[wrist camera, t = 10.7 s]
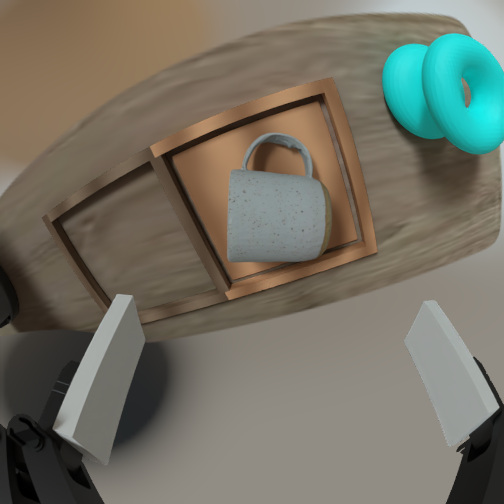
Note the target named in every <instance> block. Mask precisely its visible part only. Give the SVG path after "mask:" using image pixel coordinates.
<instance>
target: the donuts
mask: <svg viewBox="0 0 504 504" xmlns="http://www.w3.org/2000/svg"><path fill="white" fill-rule="evenodd" d="M462 77H463V78H464V79H465V81H466V82H467V84H468V85H469V88H470V91H471V102H470V105H469V107H468V108H466V106H465V94H464V88H463V85H462V82H461V78H462ZM382 86H383V92H384V96H385V99H386V102H387V105H388V107H389V109H390V111H391V112H392V114H393V116H394V117H395V118H396V120H397V121H398V122H399V123H400V124H401V125H402V126H403V127H404V128H405V129H407V130H408V131H409V132H411V133H413V134H414V135H417V136H419V137H422V138H426V139H438V138H442V137H446V138H447V139H448V140H449V141H450V142H451V143H452V144H453V145H455V146H456V147H457V148H459V149H461V150H463V151H465V152H468V153H471V154H486V153H489V152H491V151H493V150H495V149H496V148H497V147H498V146H499V145H500V144H501V143H502V142H503V141H504V72H503V70H502V68H501V67H500V65H499V63H498V61H497V60H496V59H495V57H494V56H493V55H492V54H491V53H490V51H489V50H488V49H487V48H486V47H485V46H483V45H482V44H481V43H479V42H478V41H476V40H474V39H473V38H471V37H469V36H466V35H462V34H446V35H443V36H441V37H439V38H437V39H436V40H435V41H434V42H433V43H432V44H431V45H430V46H429V47H428V46H425V45H421V44H408V45H404V46H401V47H399V48H398V49H396V50H395V51H394V52H393V53H392V54H391V55H390V56H389V57H388V59H387V61H386V63H385V65H384V69H383V75H382Z"/></svg>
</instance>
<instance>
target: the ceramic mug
mask: <svg viewBox="0 0 504 504" xmlns="http://www.w3.org/2000/svg"><path fill="white" fill-rule="evenodd" d="M266 142H270V143H276V144H282V145H285V146H287V147H288V148H295V149H297V150H298V152H299V153H300V155H301V156H302V158H303V162H304V166H305V176H300V175H288V174H279V173H272V172H262V171H251V170H248V169H247V164H248V161H249V158H250V156H251V154H252V152H253V151H254V149H255V148H256V147H257V146H258V145H260V144H261V143H266ZM312 174H313V165H312V159H311V156H310V153H309V151H308V149H307V148H306V147H305V145H304V144H303V143H302V142H300V141H299V140H298V139H297V138H295V137H293V136H291V135H288V134H283V133H277V132H276V133H267V134H264V135H262V136H260V137H258V138H257V139H256V140H255V141H254V142H253V143H252V144H251V145H250V146H249V148H248V150H247V152H246V154H245V156H244V160H243V164H242V168H241V169H234V170H232V171H231V172H230V178H229V196H228V220H227V223H228V225H227V229H228V232H227V236H228V237H227V258H228V261H230V262H233V263H237V262H299V261H307V260H312V259H316V258H318V257H320V256H321V255H322V254H323V253H324V251H325V249H326V248H327V246H328V243H329V239H330V235H331V227H332V205H331V198H330V195H329V191H328V190H327V188H326V186H325V185H324V184H323V183H322V182H321V181H319V180H316V179H314V178H313V177H312Z"/></svg>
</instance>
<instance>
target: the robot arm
mask: <svg viewBox="0 0 504 504" xmlns="http://www.w3.org/2000/svg"><path fill="white" fill-rule="evenodd" d="M18 311H19V304H18V300H17V296H16V294H15V291H14V289H13V287H12V285H11V283H10V281H9V279H8V277H7V276H6V274H5V273H4V271H3V270H2V268H1V267H0V328H2V327H4V326H5V325H7V324H9V323H10V322H11V321H12V320H13V319H14V318H15V316H16V315H17V314H18ZM144 343H145V337H144V334H143V331H142V327H141V324H140V320H139V317H138V313H137V309H136V306H135V302H134V298H133V296H132V295H121V294H117V295H116V297H115V299H114V301H113V302H112V304H111V306H110V308H109V309H108V311H107V313H106V315H105V317H104V318H103V320H102V322H101V324H100V326H99V328H98V330H97V331H96V333H95V335H94V337H93V339H92V341H91V343H90V345H89V347H88V349H87V351H86V353H85V355H84V357H83V359H82V361H81V363H78V362H74V361H70V362H69V363H68V364H67V365H66V366H65V367H64V368H63V369H62V371H61V373H60V375H59V377H58V379H57V383H55V385H54V388H53V391H52V392H51V394H50V396H49V399H48V401H47V403H46V405H45V408H44V410H43V412H42V415H41V417H40V420H39V421H38V423H36V422H35V421H34V420H33V419H32V418H31V417H30V416H28V415H26V414H17V415H16V416H14V417H13V418H12V419H11V420H10V421H9V424H8V427H7V429H5V428H4V427H3V426H2V425H1V424H0V504H104V502H103V500H102V498H101V497H100V495H99V493H98V491H97V489H96V488H95V486H94V484H93V482H92V480H91V478H90V476H89V474H88V472H87V470H86V468H85V466H84V464H83V462H82V461H81V460H82V456H83V455H84V456H85V457H87V458H88V459H89V460H91V461H94V462H97V463H100V464H103V465H106V466H107V465H108V461H109V457H110V453H111V448H112V445H113V441H114V438H115V434H116V430H117V427H118V423H119V419H120V416H121V413H122V409H123V406H124V403H125V399H126V396H127V393H128V390H129V387H130V384H131V381H132V378H133V375H134V371H135V368H136V366H137V362H138V360H139V357H140V354H141V351H142V348H143V346H144ZM404 343H405V345H406V347H407V349H408V351H409V353H410V355H411V357H412V359H413V362H414V364H415V366H416V368H417V370H418V372H419V374H420V377H421V379H422V381H423V383H424V385H425V388H426V390H427V392H428V395H429V397H430V400H431V402H432V404H433V407H434V409H435V412H436V414H437V417H438V419H439V422H440V424H441V427H442V430H443V432H444V435H445V438H446V441H447V444H448V447H450V446H452V445H454V444H456V443H459V442H461V441H462V440H463V439H464V438H466V437H467V436H468V435H469V436H470V438H469V439H468V440H467V441H466V442H464V443H463V444H462V445H460V446H459V447H458V449H457V451H456V452H459V451H460V450H461V449H463V448H464V447H465V449H463V450H462V451H461V452H460V453H462V454H463V457H462V460H461V464H460V467H459V470H458V473H457V476H456V479H455V482H454V485H453V487H452V490H451V492H450V495H449V497H448V500H447V502H446V504H504V404H503V403H502V401H501V399H500V397H499V395H498V393H497V391H496V389H495V387H494V385H493V383H492V382H491V381H490V378H489V376H488V374H486V371H485V369H484V367H483V365H482V364H481V363H480V362H479V361H478V360H477V359H476V358H475V357H472V355H471V354H470V352H469V351H468V349H467V347H466V345H465V344H464V342H463V341H462V339H461V338H460V336H459V335H458V333H457V331H456V330H455V328H454V327H453V325H452V324H451V322H450V321H449V320H448V318H447V317H446V315H445V314H444V312H443V311H442V309H441V308H440V307H439V305H438V304H437V302H436V301H435V300H433V301H424V302H423V304H422V306H421V308H420V311H419V313H418V315H417V317H416V319H415V321H414V323H413V325H412V327H411V328H410V330H409V332H408V334H407V336H406V338H405V340H404Z"/></svg>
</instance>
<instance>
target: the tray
mask: <svg viewBox="0 0 504 504" xmlns="http://www.w3.org/2000/svg"><path fill="white" fill-rule="evenodd" d="M317 94H322V97H323V99H324V102H325V105H326V108H327V110H328V113H329V116H330V119H331V122H332V125H333V128H334V131H335V135H336V138H337V141H338V144H339V147H340V151H341V154H342V158H343V161H344V165H345V168H346V172H347V176H348V179H349V183H350V187H351V191H352V195H353V199H354V204H355V208H356V212H357V217H358V221H359V226H360V231H361V236H362V241H361V242H359V243H356V244H353V245H350V246H347V247H344V248H341V249H338V250H335V251H332V252H329V253H326V254H323V255H321V256H320V257H318V258H316V259H312V260H307V261H302V262H299V263H296V264H293V265H290V266H287V267H284V268H281V269H278V270H275V271H271V272H268V273H265V274H262V275H259V276H256V277H252V278H249V279H246V280H243V281H240V282H237V283H233V284H230V283H229V281H228V279H227V277H226V275H225V273H224V271H223V270H222V268H221V266H220V264H219V262H218V260H217V258H216V256H215V254H214V252H213V250H212V248H211V247H210V245H209V243H208V241H207V239H206V237H205V235H204V233H203V231H202V229H201V227H200V225H199V223H198V221H197V219H196V217H195V215H194V213H193V211H192V209H191V207H190V205H189V203H188V201H187V199H186V197H185V195H184V193H183V191H182V189H181V187H180V185H179V182H178V180H177V178H176V176H175V174H174V172H173V170H172V168H171V166H170V164H169V162H168V159H167V157H166V155H165V153H166V152H168V151H170V150H172V149H174V148H176V147H178V146H180V145H182V144H184V143H186V142H189V141H191V140H193V139H195V138H197V137H200V136H202V135H204V134H206V133H209V132H211V131H213V130H216V129H218V128H221V127H223V126H225V125H228V124H230V123H233V122H235V121H238V120H241V119H243V118H246V117H249V116H251V115H254V114H257V113H260V112H262V111H265V110H268V109H271V108H274V107H277V106H280V105H283V104H286V103H290V102H293V101H296V100H300V99H303V98H306V97H310V96H313V95H317ZM276 132H277V133H283V134H288V135H291V136H293V137H295V138H297V139H298V140H299V141H300V142H302V143H303V144H304V145H305V147H306V148H307V149H308V151H309V153H310V156H311V159H312V165H313V174H312V177H313V178H314V179H316V180H319V181H321V182H322V183H323V184H324V185H325V186H326V188H327V190H328V191H329V195H330V198H331V205H332V227H331V235H330V239H329V243H328V246H327V248H326V249H325V250H327V249H330V248H333V247H336V246H339V245H342V244H345V243H348V242H350V241H353V240H356V239H357V235H356V230H355V225H354V221H353V217H352V212H351V208H350V204H349V200H348V196H347V192H346V188H345V184H344V180H343V177H342V173H341V170H340V166H339V163H338V159H337V156H336V153H335V149H334V146H333V143H332V140H331V136H330V133H329V130H328V127H327V124H326V121H325V118H324V116H323V113H322V110H321V107H320V104H319V102H318V101H317V102H313V103H310V104H306V105H303V106H300V107H296V108H293V109H290V110H287V111H284V112H281V113H278V114H275V115H272V116H269V117H266V118H263V119H260V120H257V121H255V122H252V123H249V124H246V125H244V126H241V127H239V128H236V129H233V130H231V131H228V132H226V133H224V134H221V135H219V136H216V137H214V138H212V139H209V140H207V141H205V142H202V143H200V144H198V145H195V146H193V147H191V148H189V149H187V150H185V151H182V152H180V153H178V154H176V155H174V156H172V159H173V161H174V163H175V165H176V167H177V169H178V171H179V173H180V175H181V178H182V180H183V182H184V184H185V186H186V188H187V190H188V192H189V194H190V196H191V198H192V200H193V202H194V204H195V206H196V208H197V210H198V213H199V215H200V217H201V219H202V221H203V223H204V225H205V227H206V229H207V231H208V233H209V235H210V237H211V239H212V241H213V243H214V245H215V247H216V248H217V250H218V252H219V254H220V256H221V258H222V260H223V262H224V264H225V266H226V268H227V270H228V272H229V274H230V276H231V278H232V280H235V279H238V278H241V277H244V276H247V275H250V274H253V273H257V272H260V271H263V270H266V269H269V268H272V267H275V266H278V265H281V264H285V263H288V262H237V263H233V262H230V261H228V258H227V237H228V236H227V232H228V229H227V225H228V223H227V220H228V196H229V178H230V172H231V171H232V170H234V169H241V168H242V164H243V160H244V156H245V154H246V152H247V150H248V148H249V146H250V145H251V144H252V143H253V142H254V141H255V140H256V139H257V138H258V137H260V136H262V135H264V134H267V133H276ZM148 161H150V162H151V164H152V166H153V168H154V170H155V172H156V175H157V177H158V179H159V181H160V183H161V185H162V187H163V189H164V191H165V193H166V195H167V197H168V199H169V201H170V203H171V205H172V206H173V208H174V210H175V212H176V214H177V216H178V218H179V220H180V222H181V224H182V226H183V228H184V230H185V231H186V233H187V235H188V237H189V239H190V241H191V243H192V245H193V246H194V248H195V250H196V252H197V254H198V256H199V257H200V259H201V261H202V263H203V265H204V267H205V268H206V270H207V272H208V274H209V276H210V277H211V279H212V281H213V283H214V284H215V286H216V288H217V289H214V290H210V291H207V292H204V293H201V294H197V295H194V296H191V297H187V298H184V299H180V300H177V301H174V302H170V303H167V304H163V305H160V306H156V307H153V308H149V309H146V310H142V311H139V312H137V313H138V317H139V320H140V324H143V323H147V322H151V321H155V320H158V319H162V318H166V317H170V316H174V315H177V314H181V313H185V312H189V311H192V310H196V309H199V308H203V307H207V306H210V305H214V304H217V303H221V302H224V301H228V300H231V299H234V298H238V297H241V296H245V295H248V294H251V293H255V292H258V291H261V290H265V289H268V288H271V287H274V286H278V285H281V284H284V283H287V282H290V281H293V280H296V279H300V278H303V277H306V276H309V275H312V274H315V273H318V272H321V271H324V270H327V269H330V268H333V267H336V266H339V265H342V264H345V263H348V262H351V261H354V260H356V259H359V258H362V257H365V256H368V255H371V254H373V253H376V252H377V245H376V239H375V233H374V227H373V222H372V216H371V211H370V206H369V201H368V197H367V192H366V188H365V183H364V179H363V175H362V171H361V167H360V163H359V159H358V155H357V151H356V148H355V144H354V141H353V137H352V134H351V131H350V127H349V124H348V121H347V118H346V115H345V112H344V109H343V106H342V103H341V100H340V97H339V94H338V91H337V89H336V86H335V83H334V81H333V78H332V77H331V78H327V79H323V80H319V81H315V82H311V83H307V84H304V85H300V86H297V87H293V88H290V89H287V90H283V91H280V92H277V93H274V94H271V95H268V96H265V97H262V98H259V99H256V100H254V101H251V102H248V103H245V104H243V105H240V106H237V107H235V108H232V109H230V110H227V111H225V112H222V113H220V114H217V115H215V116H213V117H210V118H208V119H206V120H203V121H201V122H199V123H197V124H194V125H192V126H190V127H188V128H186V129H184V130H182V131H180V132H177V133H175V134H173V135H171V136H169V137H167V138H165V139H163V140H162V141H160V142H158V143H156V144H154V145H152V146H150V147H148V148H146V149H145V150H143V151H141V152H139V153H137V154H136V155H134V156H132V157H130V158H129V159H127V160H125V161H123V162H122V163H120V164H118V165H117V166H115V167H113V168H112V169H110V170H109V171H107V172H105V173H104V174H102V175H101V176H99V177H98V178H96V179H95V180H93V181H91V182H90V183H88V184H87V185H85V186H84V187H83V188H81V189H80V190H78V191H77V192H75V193H74V194H73V195H71V196H70V197H68V198H67V199H66V200H64V201H63V202H62V203H60V204H59V205H57V206H56V207H55V208H54V209H52V210H51V211H50V212H48V213H47V214H46V215H45V216H43V217H42V219H43V221H44V223H45V225H46V226H47V228H48V230H49V232H50V233H51V235H52V237H53V239H54V240H55V242H56V244H57V245H58V247H59V249H60V250H61V252H62V253H63V255H64V257H65V258H66V260H67V261H68V263H69V264H70V266H71V268H72V269H73V271H74V272H75V274H76V275H77V276H78V278H79V279H80V281H81V282H82V284H83V285H84V287H85V288H86V289H87V291H88V292H89V293H90V295H91V296H92V298H93V299H94V300H95V302H96V303H97V304H98V306H99V307H100V308H101V309H102V311H103V312H104V313H105V315H106V313H107V311H108V309H109V308H110V306H111V304H112V303H111V302H110V301H109V299H108V298H107V297H106V295H105V294H104V292H103V291H102V290H101V288H100V287H99V285H98V284H97V283H96V281H95V280H94V278H93V277H92V275H91V274H90V272H89V271H88V269H87V268H86V266H85V265H84V263H83V262H82V260H81V259H80V257H79V255H78V254H77V252H76V251H75V249H74V247H73V246H72V244H71V243H70V241H69V239H68V237H67V236H66V234H65V232H64V231H63V229H62V227H61V225H60V224H59V222H58V220H57V218H58V217H59V216H60V215H62V214H63V213H65V212H66V211H67V210H69V209H70V208H72V207H73V206H75V205H76V204H78V203H79V202H81V201H82V200H84V199H85V198H87V197H88V196H90V195H91V194H93V193H95V192H96V191H98V190H99V189H101V188H103V187H104V186H106V185H108V184H109V183H111V182H113V181H114V180H116V179H118V178H119V177H121V176H123V175H124V174H126V173H128V172H130V171H132V170H133V169H135V168H137V167H139V166H141V165H142V164H144V163H146V162H148ZM247 169H248V170H251V171H262V172H272V173H279V174H288V175H300V176H305V166H304V162H303V158H302V156H301V155H300V153H299V152H298V150H297V149H295V148H288V147H287V146H285V145H282V144H276V143H270V142H266V143H261V144H260V145H258V146H257V147H256V148H255V149H254V151H253V152H252V154H251V156H250V158H249V161H248V164H247Z"/></svg>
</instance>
